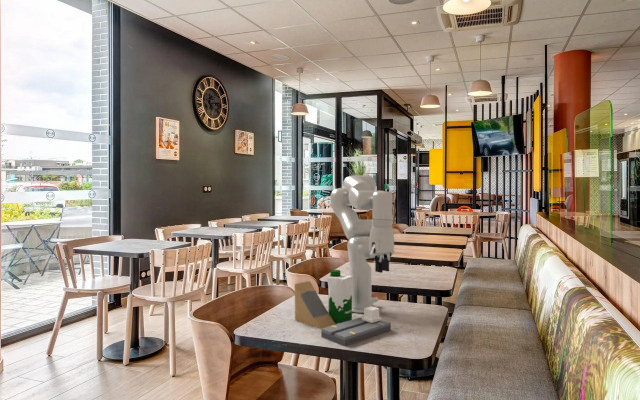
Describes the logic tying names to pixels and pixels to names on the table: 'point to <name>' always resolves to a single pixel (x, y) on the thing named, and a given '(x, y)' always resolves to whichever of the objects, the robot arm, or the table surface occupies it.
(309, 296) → the sandwich container
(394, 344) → the table surface
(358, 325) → the fader console
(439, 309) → the table surface
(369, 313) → the fader knob
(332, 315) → the milk carton
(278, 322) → the table surface
